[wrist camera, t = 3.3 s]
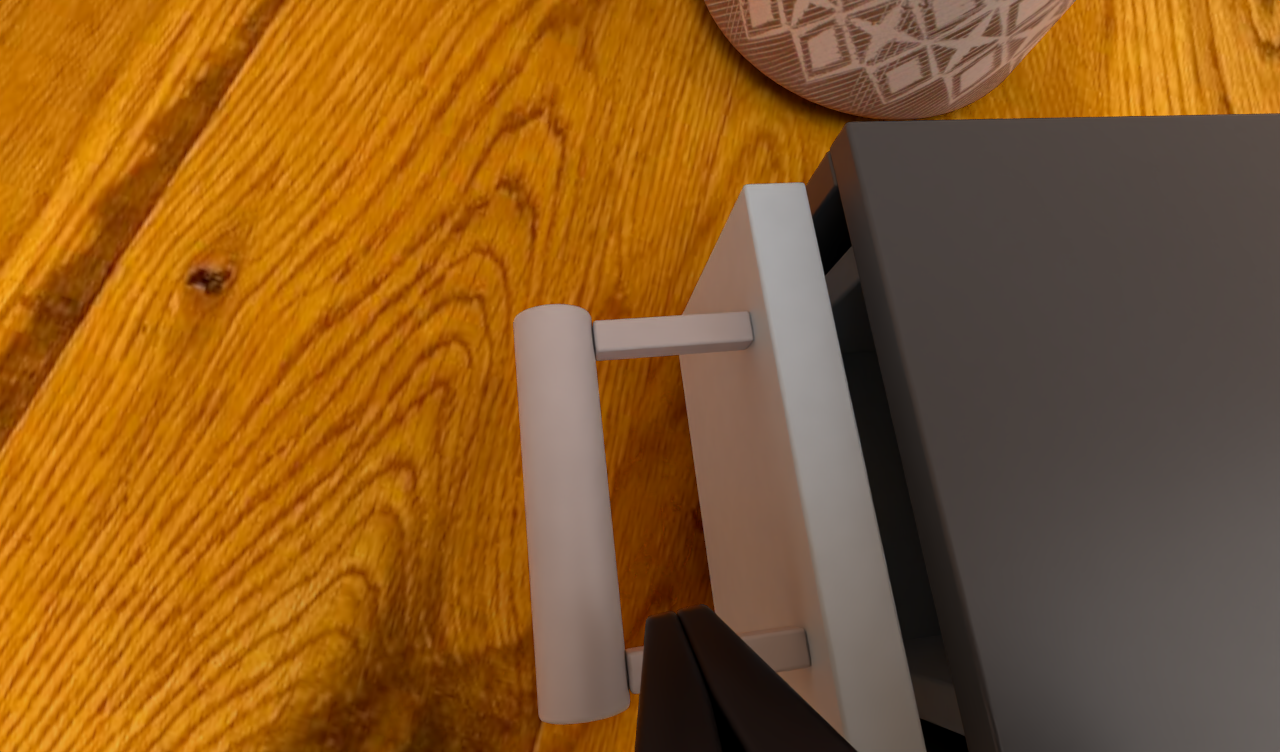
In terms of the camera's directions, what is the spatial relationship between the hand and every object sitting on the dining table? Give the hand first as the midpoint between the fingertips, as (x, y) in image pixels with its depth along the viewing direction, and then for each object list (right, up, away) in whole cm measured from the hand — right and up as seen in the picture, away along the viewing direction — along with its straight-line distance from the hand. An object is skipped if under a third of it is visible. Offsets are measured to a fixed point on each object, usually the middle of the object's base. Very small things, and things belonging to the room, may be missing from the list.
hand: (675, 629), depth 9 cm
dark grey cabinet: (+9, 0, +10) cm, 14 cm away
